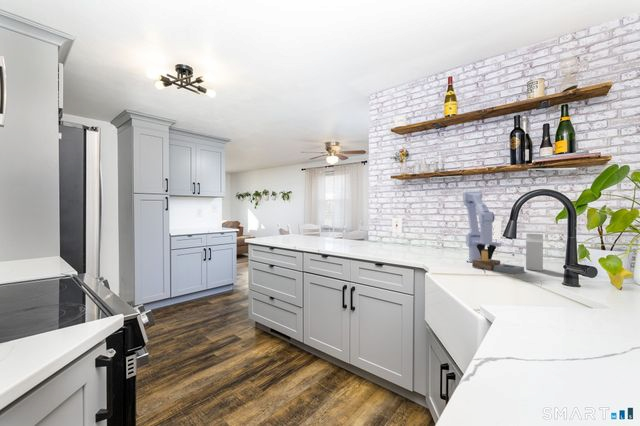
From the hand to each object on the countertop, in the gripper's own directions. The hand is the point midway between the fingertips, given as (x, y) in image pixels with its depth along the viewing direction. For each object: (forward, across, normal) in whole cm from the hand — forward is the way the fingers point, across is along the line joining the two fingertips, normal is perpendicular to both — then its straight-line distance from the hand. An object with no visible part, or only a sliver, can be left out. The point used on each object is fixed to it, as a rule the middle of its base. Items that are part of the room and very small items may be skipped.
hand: (486, 258), depth 161 cm
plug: (+3, 0, 0) cm, 3 cm away
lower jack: (+5, +12, 0) cm, 13 cm away
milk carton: (+5, +17, +16) cm, 24 cm away
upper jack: (+5, 0, 0) cm, 5 cm away
